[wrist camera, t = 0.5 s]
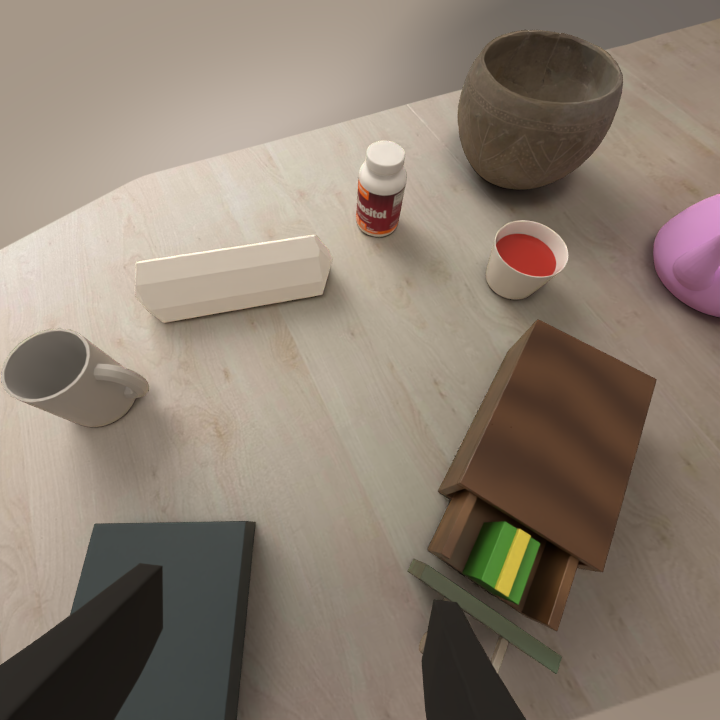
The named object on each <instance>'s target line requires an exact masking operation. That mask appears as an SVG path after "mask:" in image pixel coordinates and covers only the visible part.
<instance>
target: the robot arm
mask: <svg viewBox="0 0 720 720" xmlns="http://www.w3.org/2000/svg"><path fill="white" fill-rule="evenodd" d="M162 630H163V566H160V565H152V564H144V563H139V564H138V565H137V566H135V567H134V568H132V569H131V570H130V571H128V572H127V573H126V574H124V575H123V576H122V577H120V578H119V579H118V580H116V581H115V582H114V583H112V584H111V585H110V586H108V587H107V588H106V589H104V590H103V591H102V592H101V593H99V594H98V595H97V596H95V597H94V598H93V599H91V600H90V601H89V602H87V603H86V604H85V605H83V606H82V607H81V608H79V609H78V610H77V611H75V612H74V613H73V614H71V615H70V616H69V617H67V618H66V619H64V620H63V621H62V622H60V623H59V624H58V625H56V626H55V627H54V628H52V629H51V630H50V631H48V632H47V633H45V634H44V635H43V636H41V637H40V638H39V639H37V640H36V641H34V642H33V643H32V644H30V645H29V646H27V647H26V648H24V649H23V650H21V651H20V652H19V653H17V654H16V655H14V656H13V657H11V658H10V659H9V660H7V661H6V662H4V663H3V664H1V665H0V720H114V719H115V718H116V716H117V714H118V712H119V711H120V709H121V707H122V706H123V704H124V702H125V701H126V699H127V697H128V696H129V694H130V692H131V691H132V689H133V687H134V686H135V684H136V682H137V680H138V679H139V677H140V675H141V673H142V671H143V669H144V667H145V665H146V663H147V661H148V659H149V657H150V655H151V653H152V651H153V649H154V647H155V644H156V642H157V640H158V638H159V636H160V634H161V632H162ZM422 672H423V687H424V699H425V711H426V718H427V720H526V718H525V717H524V715H523V714H522V712H521V711H520V709H519V707H518V706H517V704H516V703H515V701H514V699H513V698H512V696H511V695H510V693H509V691H508V690H507V688H506V686H505V685H504V683H503V681H502V680H501V678H500V677H499V675H498V673H497V672H496V670H495V668H494V666H493V665H492V663H491V661H490V660H489V658H488V656H487V654H486V653H485V651H484V649H483V647H482V646H481V644H480V642H479V640H478V639H477V637H476V635H475V633H474V631H473V629H472V628H471V626H470V624H469V622H468V620H467V618H466V617H465V615H464V613H463V611H462V609H461V607H460V606H459V604H458V603H457V602H452V601H443V600H435V599H434V600H433V605H432V611H431V616H430V621H429V626H428V631H427V636H426V641H425V646H424V651H423V656H422Z"/></svg>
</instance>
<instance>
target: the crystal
mask: <svg viewBox="0 0 720 720" xmlns="http://www.w3.org/2000/svg"><path fill="white" fill-rule="evenodd" d="M332 260H333V258H332V256H331V254H330V251H329V249H328V248H327V247H326V246H325V245H324V243H323V242H322V241H321V240H320V239H319V238H318V236H317V235H309V236H302V237H295V238H289V239H282V240H276V241H269V242H263V243H256V244H249V245H243V246H236V247H230V248H223V249H216V250H210V251H203V252H197V253H190V254H184V255H177V256H170V257H164V258H157V259H151V260H144V261H137V262H136V266H135V297H136V299H137V300H138V301H139V302H140V303H141V304H142V305H143V306H144V308H145V309H146V310H147V311H148V312H150V313H151V314H152V315H154V316H155V317H156V318H157V319H159V320H160V321H161V322H163V323H165V322H171V321H177V320H182V319H188V318H194V317H199V316H205V315H211V314H216V313H222V312H227V311H233V310H239V309H244V308H250V307H256V306H261V305H267V304H273V303H278V302H284V301H290V300H295V299H301V298H307V297H312V296H318V295H322V294H323V291H324V288H325V285H326V281H327V278H328V274H329V271H330V267H331V264H332Z"/></svg>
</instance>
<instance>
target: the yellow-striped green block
mask: <svg viewBox="0 0 720 720" xmlns="http://www.w3.org/2000/svg"><path fill="white" fill-rule="evenodd" d="M539 546H540V543H539V542H537V541H536V540H534V539H533V538H531V535H529V534H528V533H526V532H524V531H523V530H521V529H517V528H515V527H514V526H512V525H510V524H509V523H507V522H506V521H501V522H484V523H483V526H482V528H481V530H480V533H479V535H478V537H477V540H476V542H475V544H474V547H473V549H472V551H471V554H470V556H469V558H468V561H467V563H466V565H465V568H464V570H463V574H464V575H466V576H467V577H469V578H470V579H472V580H473V581H475V582H476V583H478V584H479V585H481V586H482V587H483V588H485V589H486V590H488V591H489V592H491V593H492V594H494V595H496V596H499V597H501V598H503V599H506V600H508V601H510V602H513V603H515V604H517V605H519V602H520V600H521V597H522V594H523V591H524V588H525V586H526V583H527V580H528V577H529V574H530V572H531V569H532V566H533V563H534V560H535V558H536V555H537V552H538V549H539Z"/></svg>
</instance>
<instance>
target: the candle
mask: <svg viewBox="0 0 720 720" xmlns="http://www.w3.org/2000/svg"><path fill="white" fill-rule="evenodd" d="M567 262H568V250H567V247H566V244H565V243H564V241H563V240H562V238H561V237H560V236H559V235H558V234H557V233H556V232H555V231H553V230H552V229H550V228H549V227H547V226H545V225H543V224H540V223H537V222H533V221H527V220H519V221H513V222H510V223H507V224H505V225H504V226H502V227H501V228H500V229H499V231H498V232H497V234H496V236H495V240H494V243H493V247H492V250H491V254H490V258H489V261H488V265H487V269H486V280H487V283H488V285H489V286H490V288H491V289H492V290H493V291H494V292H495V293H497V294H498V295H500V296H502V297H505V298H508V299H515V300H516V299H523V298H526V297H528V296H529V295H531V294H532V293H534V292H535V291H536V290H538V289H539V288H540V287H541V286H543V285H544V284H545V283H547V282H548V281H549V280H550V279H552V278H553V277H554V276H556V275H557V274H558V273H559V272H561V271H562V270H563V269H564V267H565V266H566V264H567Z"/></svg>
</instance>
